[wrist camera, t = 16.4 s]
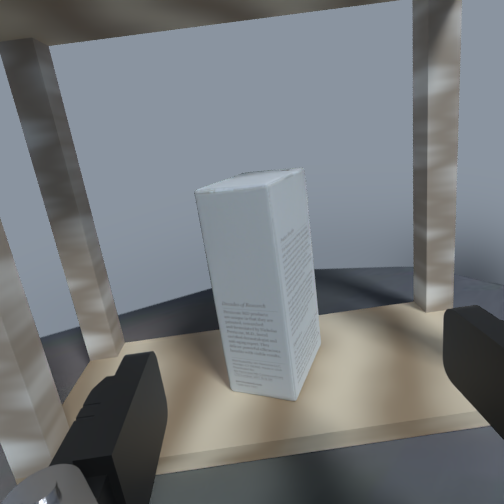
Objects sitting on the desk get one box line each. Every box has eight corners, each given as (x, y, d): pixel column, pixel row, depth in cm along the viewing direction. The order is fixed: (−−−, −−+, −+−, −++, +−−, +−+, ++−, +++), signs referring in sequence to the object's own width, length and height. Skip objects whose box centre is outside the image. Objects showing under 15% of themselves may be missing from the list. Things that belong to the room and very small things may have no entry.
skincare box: (264, 339, 27) (241, 172, 24) (322, 345, 25) (307, 166, 22) (226, 393, 22) (190, 188, 18) (296, 405, 20) (271, 182, 17)
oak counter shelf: (21, 494, 18) (-217, -96, 11) (102, 357, 30) (8, 22, 23) (566, 414, 19) (652, -204, 12) (438, 309, 30) (444, -34, 23)
